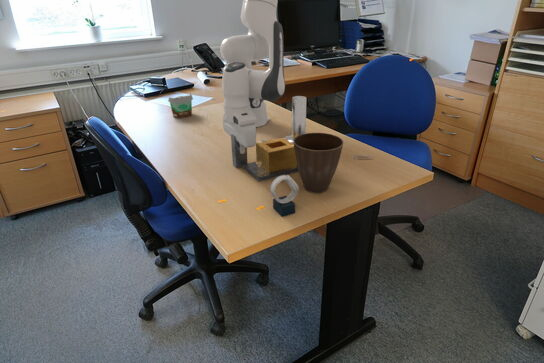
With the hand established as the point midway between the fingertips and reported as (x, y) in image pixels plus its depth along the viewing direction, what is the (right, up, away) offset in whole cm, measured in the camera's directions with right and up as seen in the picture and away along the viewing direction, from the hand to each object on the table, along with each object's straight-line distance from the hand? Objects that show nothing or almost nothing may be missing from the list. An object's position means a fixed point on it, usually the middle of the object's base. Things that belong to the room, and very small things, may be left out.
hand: (239, 150), depth 139 cm
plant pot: (+26, -13, -13) cm, 32 cm away
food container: (-32, +21, +54) cm, 66 cm away
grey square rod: (0, -5, +3) cm, 6 cm away
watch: (+15, -20, -26) cm, 36 cm away
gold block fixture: (+14, -5, +2) cm, 15 cm away
